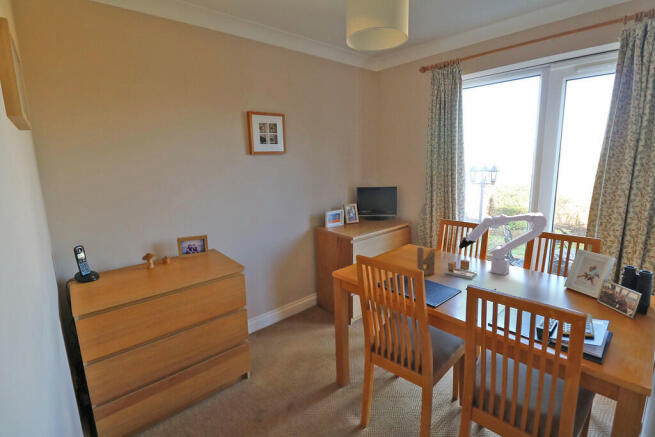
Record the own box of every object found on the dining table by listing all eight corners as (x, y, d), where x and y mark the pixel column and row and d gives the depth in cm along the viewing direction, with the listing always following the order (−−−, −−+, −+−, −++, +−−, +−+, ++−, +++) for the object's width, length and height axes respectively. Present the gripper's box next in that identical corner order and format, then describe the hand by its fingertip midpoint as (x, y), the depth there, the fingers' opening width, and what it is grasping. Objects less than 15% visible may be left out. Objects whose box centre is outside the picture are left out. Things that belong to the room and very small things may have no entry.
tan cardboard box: (462, 267, 198) (462, 259, 196) (469, 269, 194) (469, 260, 193) (460, 269, 195) (460, 260, 194) (467, 270, 192) (467, 262, 191)
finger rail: (476, 275, 184) (477, 264, 183) (471, 279, 179) (472, 269, 177) (452, 269, 195) (452, 259, 193) (446, 273, 189) (446, 263, 188)
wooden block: (434, 274, 189) (434, 246, 186) (419, 276, 186) (419, 248, 183) (430, 272, 193) (431, 244, 189) (415, 274, 190) (415, 246, 186)
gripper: (476, 227, 197) (461, 241, 203) (468, 228, 186) (453, 243, 192) (485, 234, 193) (469, 249, 200) (477, 236, 183) (461, 252, 189)
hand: (462, 247), depth 196 cm, fingers open, 7 cm apart
